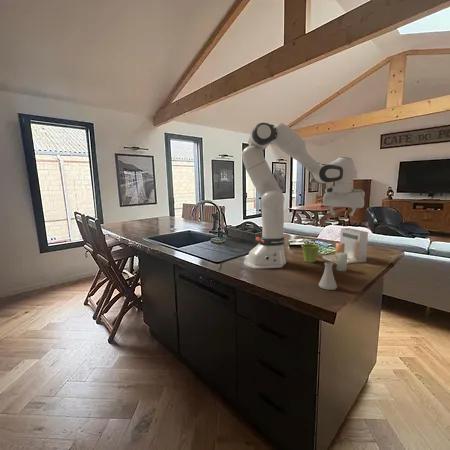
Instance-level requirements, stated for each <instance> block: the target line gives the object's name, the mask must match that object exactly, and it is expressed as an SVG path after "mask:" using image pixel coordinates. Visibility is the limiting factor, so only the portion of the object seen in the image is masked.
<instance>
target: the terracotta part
mask: <svg viewBox="0 0 450 450" xmlns="http://www.w3.org/2000/svg"><path fill="white" fill-rule="evenodd" d="M344 248H345V244H344V243H340V242H336V243H335V252H334V253H335V254H334V255H335V258H337V254H338V253H344Z"/></svg>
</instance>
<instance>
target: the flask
mask: <svg viewBox="0 0 450 450" xmlns="http://www.w3.org/2000/svg"><path fill="white" fill-rule="evenodd" d="M333 265H334V263H333V262H331V261H329V262H324V270H323V273H322V277H321V278H320V281H319V282H318V287H320V289H324V290H327V291H328V290H329V291H330V290H332V291H333V290H336V289H337V288H338V285H337V281H336V280H335V279H336V278H335V277H334V273H333Z"/></svg>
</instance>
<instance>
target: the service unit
mask: <svg viewBox="0 0 450 450" xmlns="http://www.w3.org/2000/svg"><path fill="white" fill-rule="evenodd" d="M368 237H369V232H368V231H364V230H359V229H355V228H350V227H344V228H340V239H339V240H340V241H339V243H344V244H345V248H344V253H346V254H347V265H349V264H353V263H354V264H355V263H366V262H367V252H368ZM322 259H325V260H327V261H329V262H330V263H333V264H336V265H337V258H335V254H329V255H326V254H325V255H322Z"/></svg>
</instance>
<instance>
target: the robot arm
mask: <svg viewBox="0 0 450 450" xmlns="http://www.w3.org/2000/svg"><path fill="white" fill-rule="evenodd" d="M306 144H307V143H306V141H305V140H304V139H303V137H302V136H301V135H300V134H299V133H297V131H295V130H294V129H292V128H291V127H290V126H288V125H286V124H284V123H282V122H279V123H276V124H275V125H274V124H271V123H268V122H260V123H257V124H256V125H255V126H254V127H253V129H252V131H251V132H250V134H249V138H248V144H247V146H246V147H245V148H244V149H243V150H242V152H241V160H242V163H243V165H244V168H245V171H246V173H247V174H248V177H249V178H250V180H251V183H252V184H253V186H254V189H255V190H256V191H257V193H258V195H259V197H260V198H261V199H260V205H261V207H260V208H261V223H262V227H261V228H262V230H261V231H262V233H261V237H259V236H257V237H256V238H255V240H256V241H257V242H259V243H258V244H257V245H256V246H255V247H253V248H252V249H251V250H250V251H249V252H248V257H247V258H246V259H244V260H243V263H244V265H245V266H246V267H248V268H251V269H253V270H258V269H277V268H279V269H280V268H283V267H284V266H285V265H286V264H287V261H286V257H285V249H284V247H285V236H284V231H285V229H284V223H285V222H284V214H285V213H284V207H285V206H284V203H285V196H284V193H283V191H282V189H281V188H280V186H279V184H278V181H277V180H276V178H275V177H274V175H273V172H272V171H271V168H270V167H269V164H268V163H267V160H266V158H265V156H264V152H263V151H265V150H266V148H267V147H268V146H270V145H273V146H277V148H279V149H280V151H282V152H283V153H284V154H286V155H287V156H289V157H291V158H292V159H294V160H295V161H297V162H298V163H299V164H301V165H302V166H303V167H304V169H306V170H307V171H308V172H309V173H310V175H311V176H312V179H313V180H314V182H316V183H317V184H320V185H321V184H322V185H323V184H330V183H333V182H334V185H333V186H330V187H327V188H325V190H324V192H325V193H324V194H323V199H322V204H323V206H324V207H328V208H329V211H330V215H331V216H335V215H336V211H334V207H336V208H338V207H339V208H351V211H350V212H349V214H348V216H349V217H354V213H355V212H356V210H357V209H361V208H364V207H365V197H366V192H365V191H364V190H363V189H355V188H354V180H353V179H354V176H355V163H354V162H355V161H354V160H353V158H350V157H344V156H343V157H342V156H340V157H337V158H336V159H335V160H333V161H331V162H329V163H326V164H321V163H319V162H318V161H317V160H316V159H314V158H313V157H312V156H311V155H310V153H308V151H307V145H306Z"/></svg>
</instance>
